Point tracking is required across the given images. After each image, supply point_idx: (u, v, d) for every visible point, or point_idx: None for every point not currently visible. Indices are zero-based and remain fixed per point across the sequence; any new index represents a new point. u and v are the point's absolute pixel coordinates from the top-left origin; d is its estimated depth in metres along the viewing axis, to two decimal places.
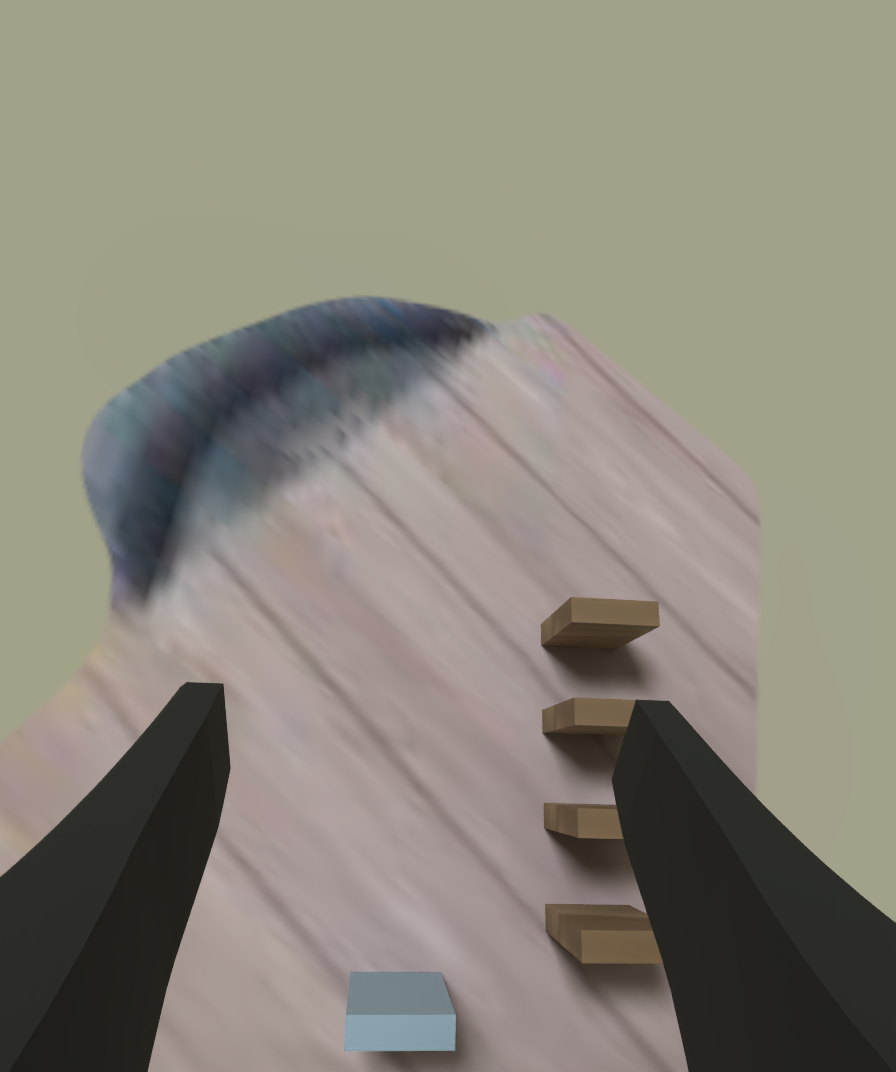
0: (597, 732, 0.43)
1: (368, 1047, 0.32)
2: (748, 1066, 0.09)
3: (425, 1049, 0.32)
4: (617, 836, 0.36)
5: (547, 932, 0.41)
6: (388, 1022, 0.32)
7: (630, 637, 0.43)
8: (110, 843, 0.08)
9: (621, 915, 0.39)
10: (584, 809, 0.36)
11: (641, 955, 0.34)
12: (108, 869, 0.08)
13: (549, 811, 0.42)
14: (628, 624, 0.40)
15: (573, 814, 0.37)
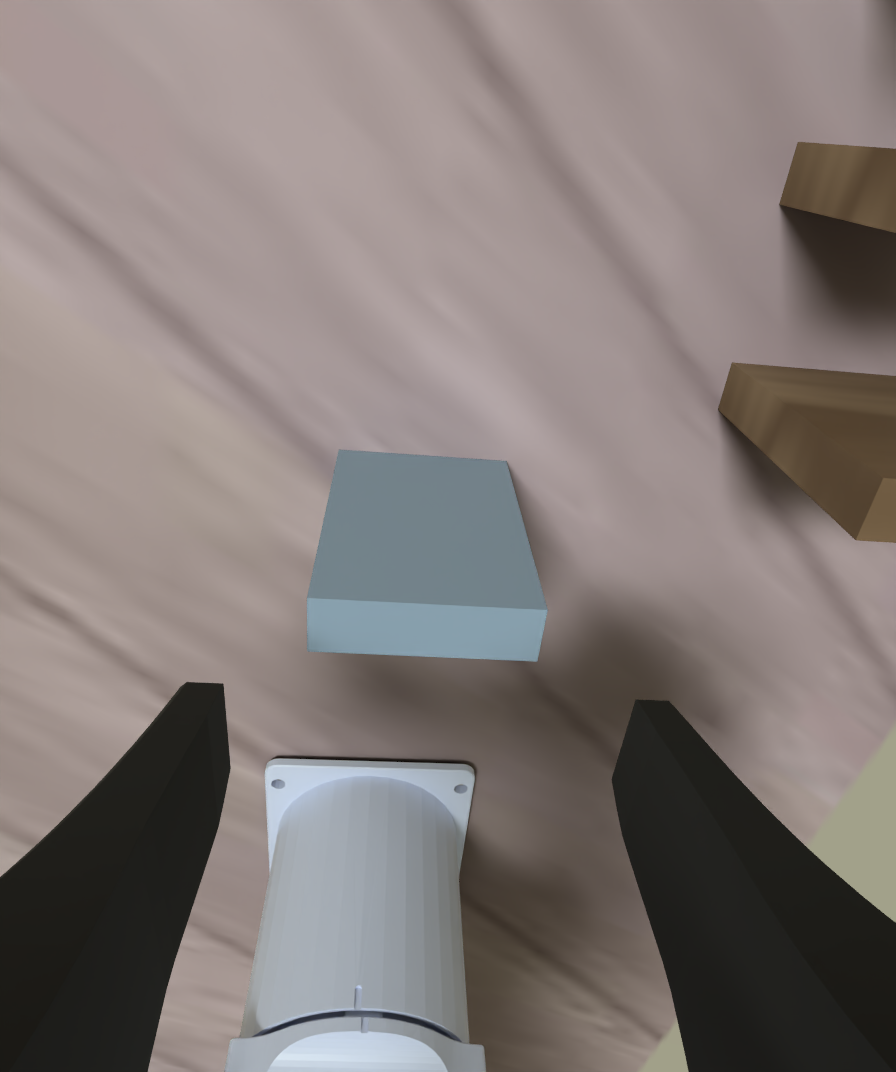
0: None
1: (358, 648, 0.15)
2: (748, 1066, 0.09)
3: (476, 657, 0.16)
4: None
5: (723, 414, 0.21)
6: (400, 614, 0.15)
7: None
8: (111, 843, 0.08)
9: None
10: None
11: None
12: (109, 868, 0.08)
13: (821, 164, 0.16)
14: None
15: None
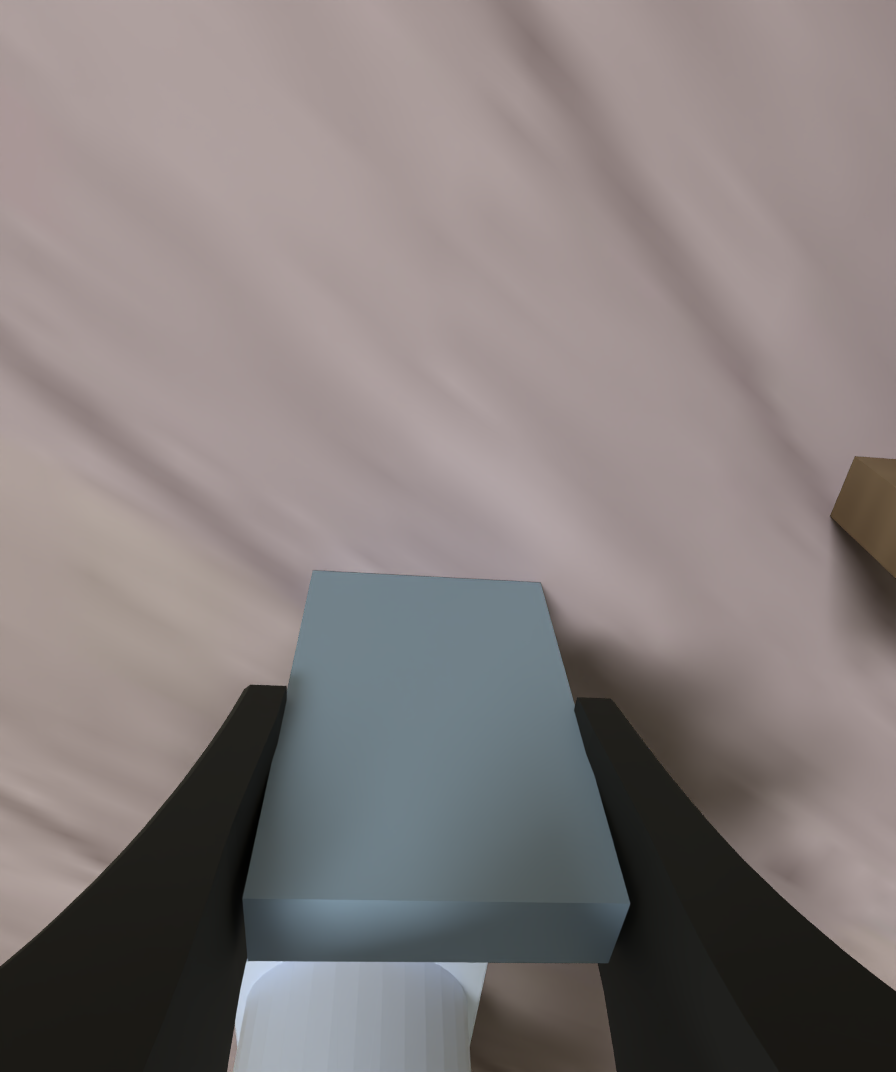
0: None
1: (328, 956, 0.10)
2: (664, 1067, 0.08)
3: (514, 961, 0.10)
4: None
5: None
6: (395, 914, 0.09)
7: None
8: (199, 845, 0.08)
9: None
10: None
11: None
12: (200, 870, 0.08)
13: None
14: None
15: None
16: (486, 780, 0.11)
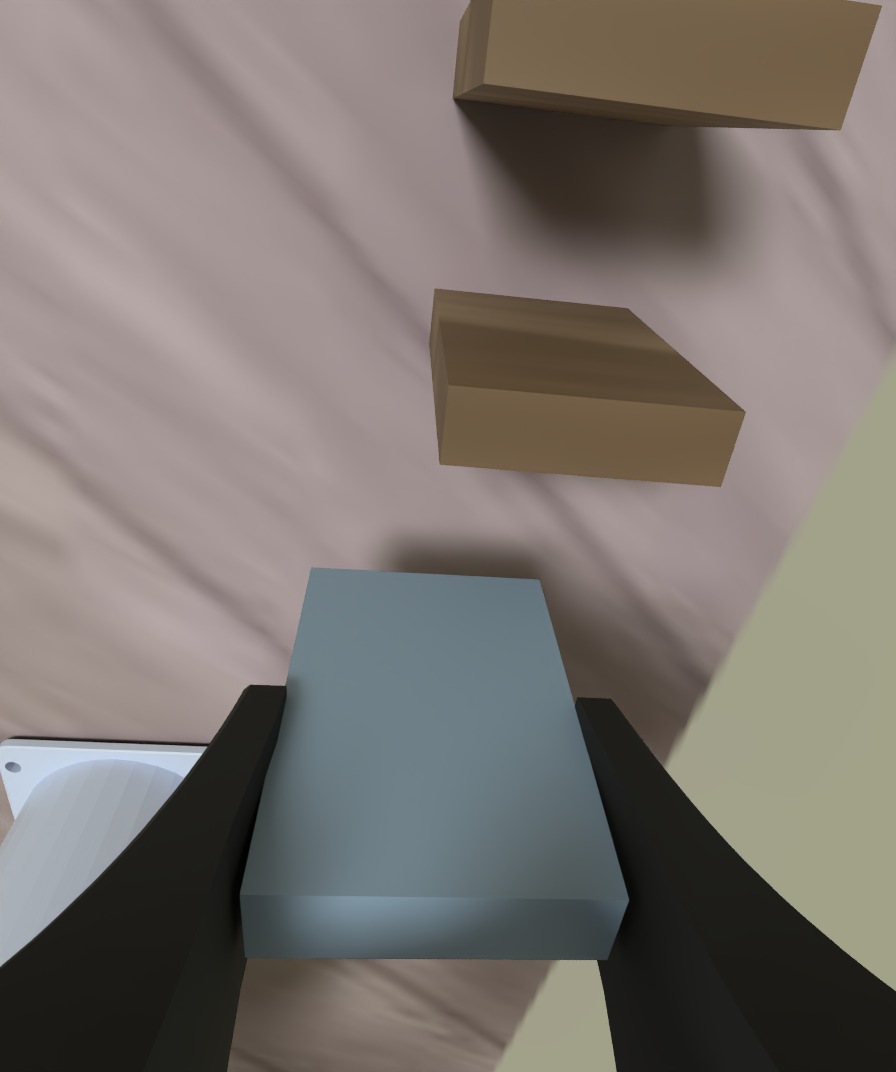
0: None
1: (326, 952, 0.10)
2: (664, 1066, 0.08)
3: (513, 958, 0.10)
4: (633, 93, 0.10)
5: None
6: (393, 910, 0.09)
7: None
8: (200, 845, 0.08)
9: (596, 337, 0.15)
10: None
11: (611, 460, 0.12)
12: (200, 870, 0.08)
13: (462, 38, 0.14)
14: None
15: None
16: (484, 776, 0.11)
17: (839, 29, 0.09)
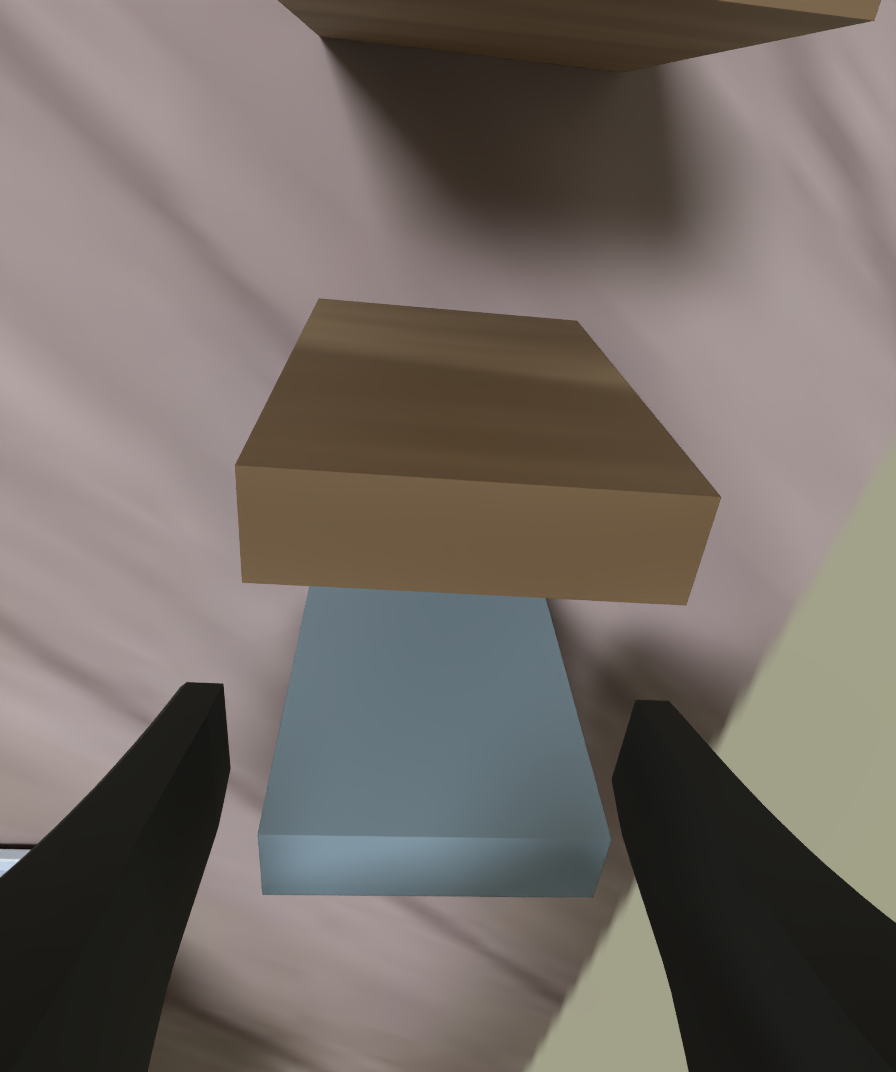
0: None
1: (336, 889, 0.11)
2: (748, 1066, 0.09)
3: (506, 895, 0.11)
4: None
5: None
6: (396, 849, 0.10)
7: None
8: (110, 844, 0.08)
9: (518, 367, 0.11)
10: None
11: (512, 570, 0.08)
12: (109, 869, 0.08)
13: None
14: None
15: None
16: (480, 733, 0.12)
17: None
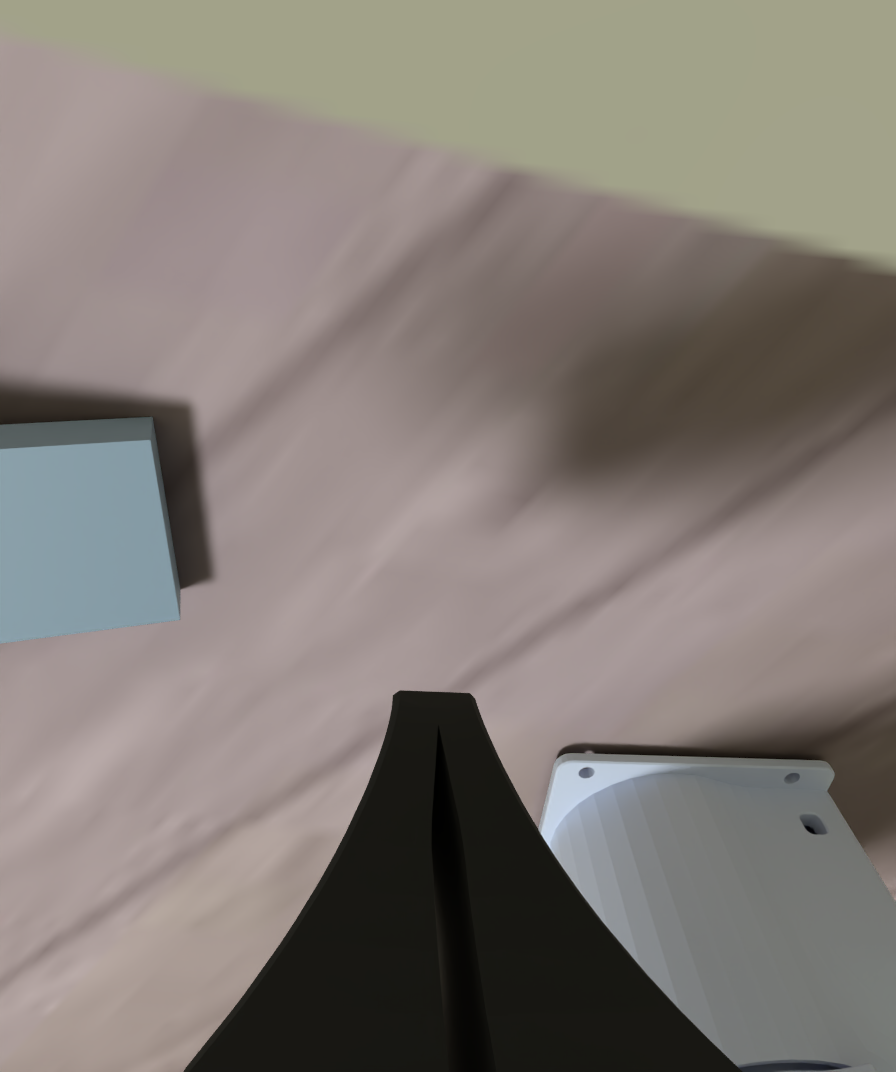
0: None
1: None
2: (457, 1068, 0.08)
3: None
4: None
5: None
6: None
7: None
8: (408, 850, 0.09)
9: None
10: None
11: None
12: (415, 873, 0.08)
13: None
14: None
15: None
16: None
17: None
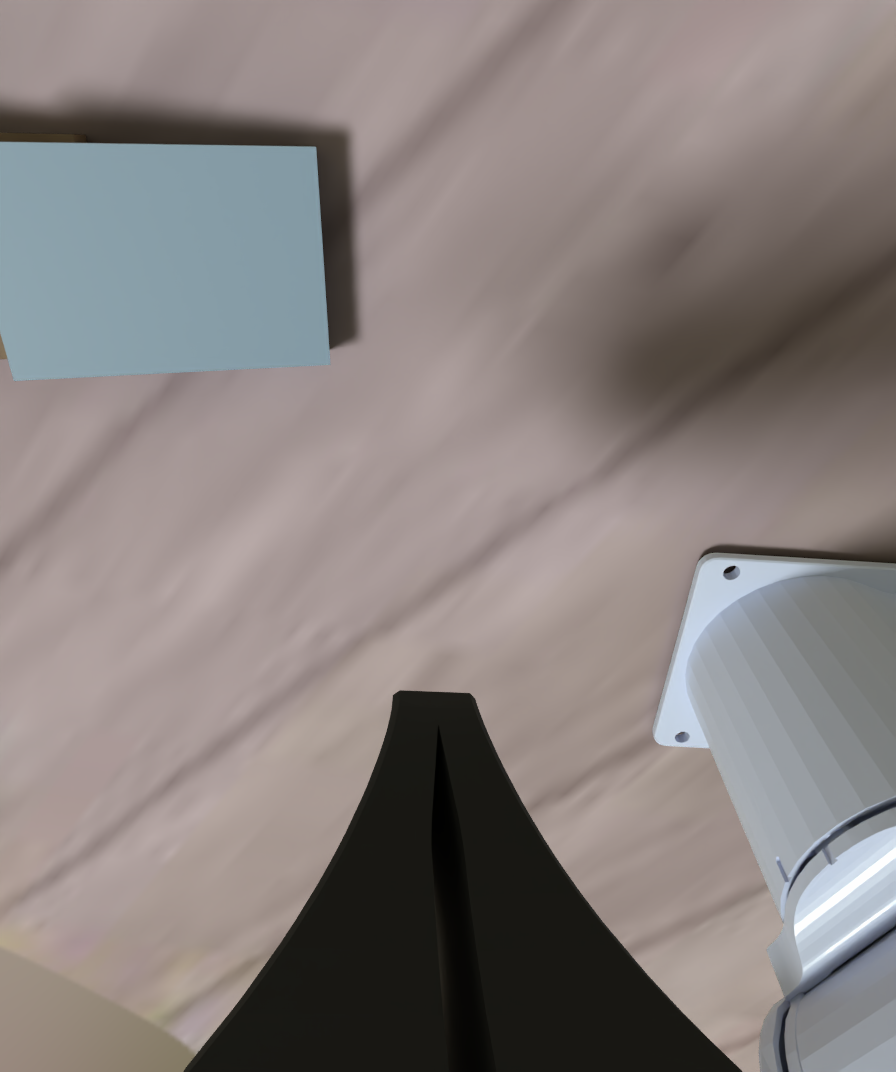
0: None
1: (2, 333, 0.17)
2: (457, 1068, 0.08)
3: None
4: None
5: None
6: None
7: None
8: (409, 850, 0.09)
9: None
10: None
11: None
12: (415, 874, 0.08)
13: None
14: None
15: None
16: None
17: None
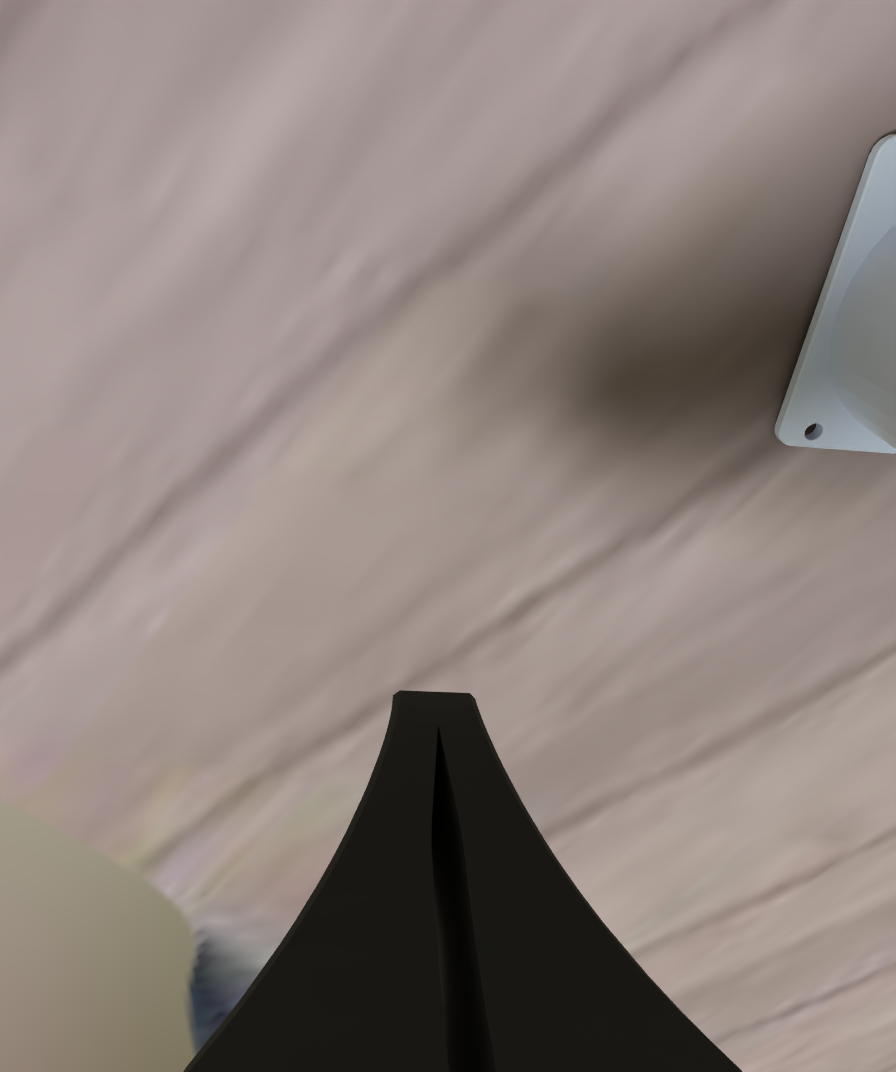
0: None
1: None
2: (457, 1068, 0.08)
3: None
4: None
5: None
6: None
7: None
8: (409, 849, 0.09)
9: None
10: None
11: None
12: (415, 874, 0.08)
13: None
14: None
15: None
16: None
17: None
